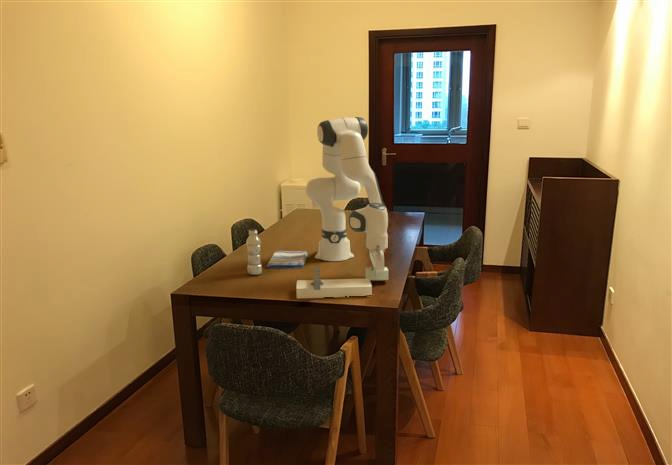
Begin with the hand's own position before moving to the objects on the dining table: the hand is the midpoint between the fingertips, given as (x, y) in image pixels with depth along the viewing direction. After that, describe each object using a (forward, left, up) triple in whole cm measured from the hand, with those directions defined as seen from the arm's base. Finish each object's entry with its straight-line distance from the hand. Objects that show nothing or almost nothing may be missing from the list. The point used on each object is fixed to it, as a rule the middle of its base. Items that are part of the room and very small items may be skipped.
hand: (376, 275), depth 223 cm
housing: (+12, -18, -3) cm, 22 cm away
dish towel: (-34, -38, -4) cm, 51 cm away
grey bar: (+12, -25, +2) cm, 28 cm away
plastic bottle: (-15, -52, -3) cm, 54 cm away
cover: (0, 0, -1) cm, 1 cm away
